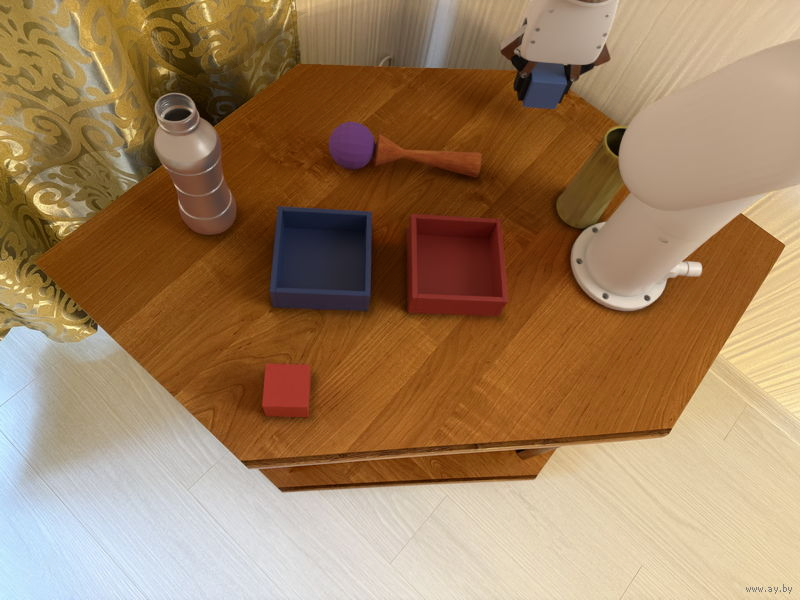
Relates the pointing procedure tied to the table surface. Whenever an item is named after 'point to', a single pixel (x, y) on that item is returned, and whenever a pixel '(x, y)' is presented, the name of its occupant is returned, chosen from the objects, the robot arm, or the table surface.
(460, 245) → the red bin
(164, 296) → the table surface
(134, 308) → the table surface
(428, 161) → the kendama
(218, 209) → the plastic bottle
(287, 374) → the red block
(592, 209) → the vase
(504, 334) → the table surface
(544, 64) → the blue block
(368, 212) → the blue bin
